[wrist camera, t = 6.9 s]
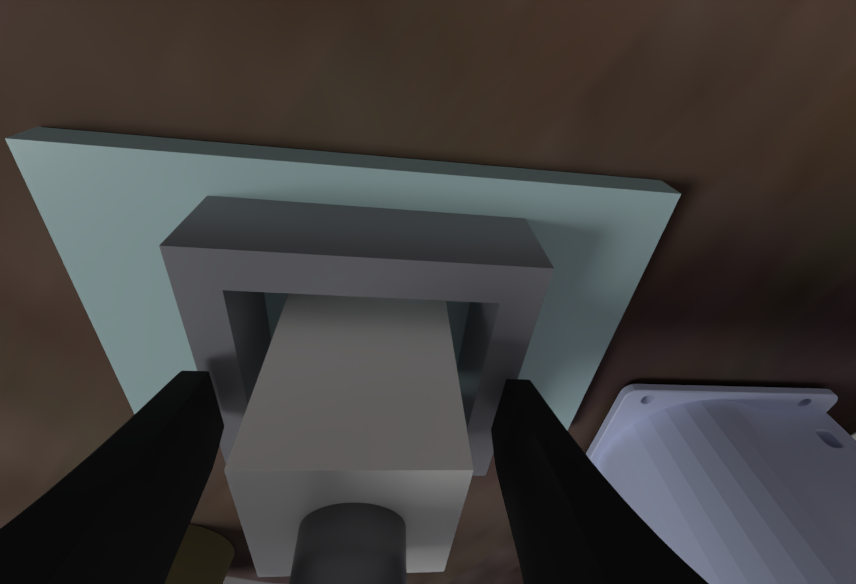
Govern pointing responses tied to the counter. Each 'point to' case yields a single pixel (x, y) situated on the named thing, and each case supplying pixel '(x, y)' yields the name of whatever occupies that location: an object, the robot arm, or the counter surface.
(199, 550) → the cork
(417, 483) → the plug
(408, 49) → the counter surface
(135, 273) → the socket
